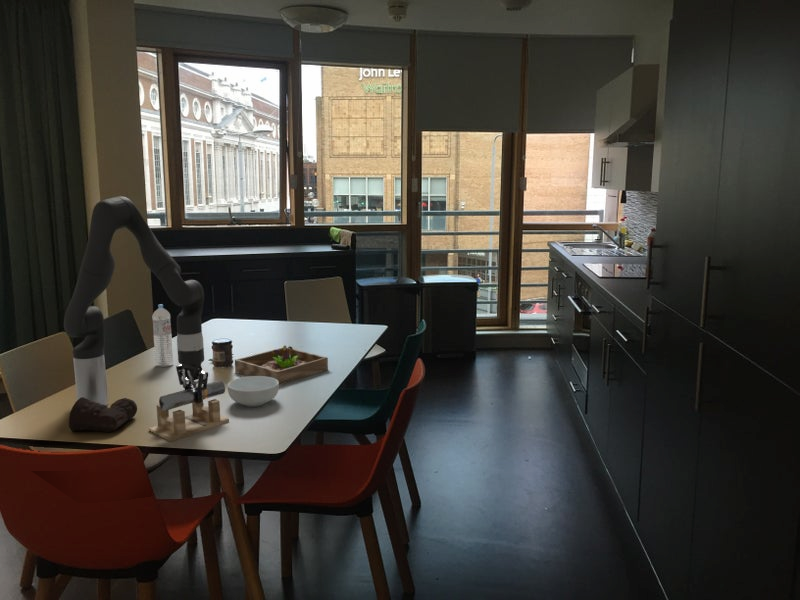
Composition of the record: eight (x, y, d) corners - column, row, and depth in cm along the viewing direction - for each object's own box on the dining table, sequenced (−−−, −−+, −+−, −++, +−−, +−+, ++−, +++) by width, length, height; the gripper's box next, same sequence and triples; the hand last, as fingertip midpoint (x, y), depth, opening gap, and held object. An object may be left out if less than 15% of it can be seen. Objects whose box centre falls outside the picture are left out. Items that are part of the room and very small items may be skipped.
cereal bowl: (255, 415, 206) (255, 393, 205) (217, 406, 214) (216, 385, 213) (289, 399, 220) (288, 379, 219) (252, 391, 228) (251, 372, 227)
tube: (167, 413, 187) (167, 398, 186) (159, 408, 190) (158, 394, 189) (225, 395, 203) (225, 382, 202) (216, 391, 205) (216, 378, 204)
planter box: (235, 372, 251) (234, 359, 250) (285, 358, 271) (285, 346, 270) (277, 385, 235) (277, 372, 235) (327, 369, 255) (327, 357, 254)
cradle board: (148, 431, 192) (147, 407, 191) (206, 412, 208) (205, 390, 206) (170, 441, 185) (169, 416, 183) (229, 421, 200) (227, 398, 199)
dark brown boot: (139, 394, 203) (91, 386, 202) (121, 414, 188) (68, 406, 187) (137, 422, 205) (89, 415, 204) (118, 444, 190) (66, 436, 189)
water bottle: (159, 368, 256) (154, 307, 252) (153, 364, 261) (148, 304, 257) (176, 365, 260) (172, 304, 256) (169, 361, 266) (166, 302, 261)
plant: (254, 379, 244) (252, 350, 242) (266, 364, 263) (265, 338, 261) (306, 380, 243) (305, 351, 241) (315, 365, 262) (314, 338, 260)
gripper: (166, 345, 195) (169, 399, 198) (193, 353, 186) (196, 409, 189) (188, 340, 200) (191, 393, 204) (215, 348, 191) (218, 403, 195)
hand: (193, 400), depth 196 cm, fingers closed on tube, 4 cm apart
